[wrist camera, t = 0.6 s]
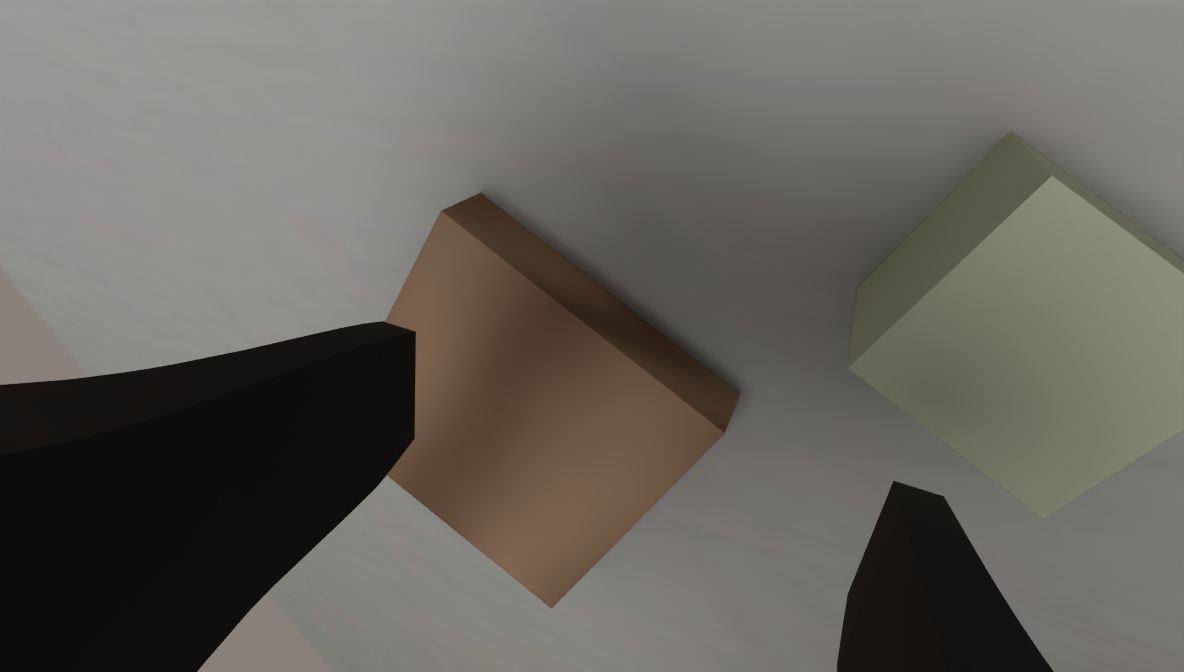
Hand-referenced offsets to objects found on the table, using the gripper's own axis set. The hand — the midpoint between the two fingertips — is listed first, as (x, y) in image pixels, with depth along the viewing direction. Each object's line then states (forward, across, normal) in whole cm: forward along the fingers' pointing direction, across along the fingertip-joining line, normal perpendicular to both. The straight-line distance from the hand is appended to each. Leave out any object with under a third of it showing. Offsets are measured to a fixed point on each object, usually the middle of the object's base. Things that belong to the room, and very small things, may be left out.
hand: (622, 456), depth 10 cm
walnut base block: (+9, +5, +6) cm, 12 cm away
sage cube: (+9, -6, -1) cm, 11 cm away
